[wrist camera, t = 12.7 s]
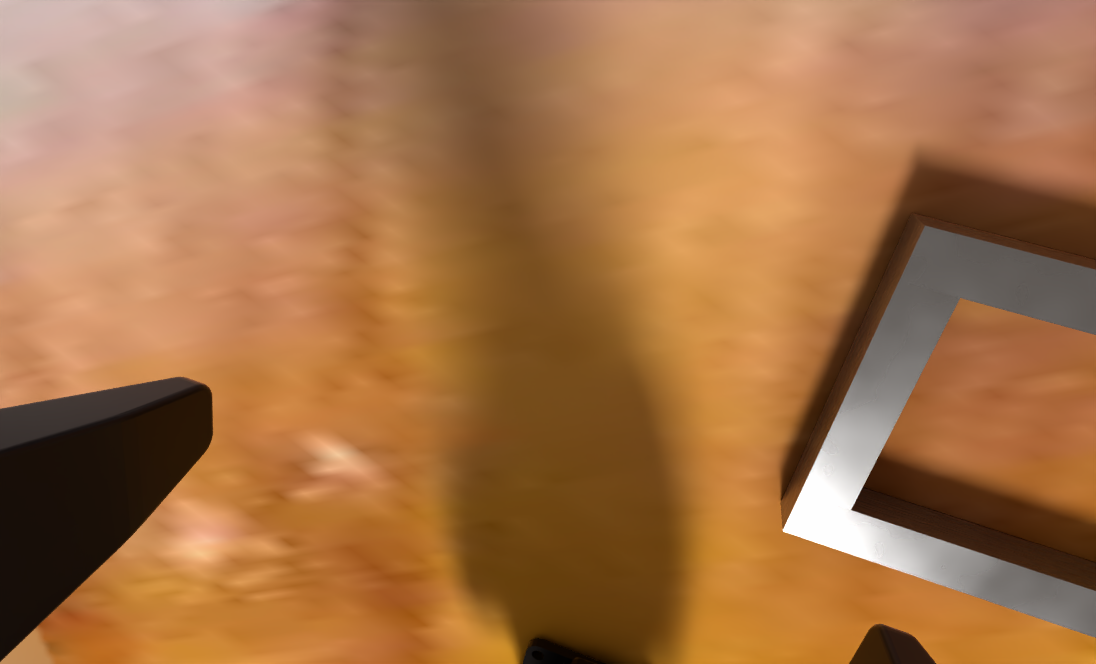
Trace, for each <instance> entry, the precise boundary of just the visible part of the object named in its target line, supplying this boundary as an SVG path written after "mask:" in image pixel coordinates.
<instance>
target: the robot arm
mask: <svg viewBox="0 0 1096 664" xmlns="http://www.w3.org/2000/svg"><path fill="white" fill-rule="evenodd" d="M212 436H213V410H212V392H211V390H210V388H209V387H208V386H207V385H205V384H203V383H200V382H197V381H194V380H191V379H189V378H185V377H175V378H169V379H164V380H158V381H152V382H147V383H141V384H136V385H130V386H125V387H119V388H113V389H108V390H102V391H97V392H91V393H86V394H80V395H75V396H69V397H63V398H58V399H52V400H47V401H41V402H36V403H30V404H24V405H19V406H13V407H8V408H2V409H0V662H1V661H2V660H3V659H4V658H5V656H7V655H8V654H9V653H10V652H11V651H12V650H13V649H14V648H15V647H16V646H17V645H18V644H19V643H20V642H22V641H23V640H24V639H25V637H27V636H28V635H29V634H30V633H31V632H32V631H33V630H34V629H35V628H36V627H37V626H38V625H39V624H40V623H41V622H43V621H44V620H45V619H46V618H47V617H48V616H49V615H50V614H51V613H52V612H53V611H54V610H55V609H56V608H57V607H58V606H59V605H60V604H61V603H62V602H64V601H65V600H66V599H67V598H68V597H69V596H70V595H71V594H72V593H73V592H74V591H75V590H76V589H77V588H78V587H79V586H80V585H81V584H82V583H83V582H84V581H86V580H87V579H88V578H89V577H90V576H91V575H92V574H93V573H94V572H95V571H96V570H97V569H98V568H99V567H100V566H101V565H102V564H103V563H104V562H105V561H107V560H108V559H109V558H110V557H111V556H112V555H113V554H114V553H115V552H116V551H117V550H118V549H119V548H120V547H121V546H122V545H123V544H124V543H125V542H126V541H127V540H128V539H129V538H130V537H131V536H132V535H133V534H134V533H135V532H136V531H137V529H138V528H139V527H140V526H141V525H142V524H143V523H144V522H145V521H146V520H147V518H148V517H149V516H150V515H151V514H152V513H153V512H154V510H155V509H156V508H157V507H158V506H159V505H160V504H161V502H162V501H163V500H164V499H165V498H166V497H167V495H168V494H169V493H170V492H171V491H172V490H173V489H174V487H175V486H176V485H177V484H178V483H179V482H180V481H181V479H182V478H183V477H184V476H185V475H186V474H187V472H188V471H189V470H190V469H191V468H192V467H193V466H194V464H195V463H196V462H197V461H198V460H199V459H200V458H201V456H202V455H203V454H204V453H205V452H206V450H207V449H208V447H209V445H210V443H211V440H212ZM539 651H540V652H539ZM523 664H605V663H603V662H600V661H598V660H595V659H592V658H590V657H587V656H585V655H582V654H580V653H577V652H574V651H572V650H569V649H567V648H564V647H562V646H559V645H556V644H554V643H551V642H549V641H546V640H544V639H540V638H535V639H532V640H531V641H530V643H529V645H528V648H527V650H526V654H525V657H524V661H523ZM849 664H936V663H935V661H934V660H933V659H932V658H931V657H930V655H929V654H928V653H927V652H926V650H925V649H924V648H923V647H922V645H921V644H920V643H919V642H918V640H917V639H916V638H915V637H913V636H912V635H910V634H908V633H906V632H903V631H900V630H897V629H894V628H892V627H889V626H886V625H883V624H876V625H874V626H873V627H871V628H870V630H869V631H868V632H867V634H866V636H865V638H864V639H863V641H862V643H861V644H860V646H859V648H858V650H857V651H856V653H855V655H854V656H853V658H852V660H851V661H850V663H849Z"/></svg>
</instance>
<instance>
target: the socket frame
mask: <svg viewBox="0 0 1096 664" xmlns="http://www.w3.org/2000/svg"><path fill="white" fill-rule="evenodd" d="M960 298H963V299H966V300H970V301H974V302H977V303H981V304H985V305H988V306H992V307H996V308H999V309H1003V310H1006V311H1010V312H1014V313H1017V314H1021V315H1025V316H1028V317H1032V318H1036V319H1039V320H1043V321H1047V322H1050V323H1054V324H1058V325H1061V326H1065V327H1069V328H1072V329H1076V330H1080V331H1083V332H1087V333H1091V334H1094V335H1096V260H1095V259H1091V258H1087V257H1083V256H1079V255H1075V254H1071V253H1067V252H1063V251H1060V250H1056V249H1052V248H1048V247H1044V246H1040V245H1036V244H1032V243H1028V242H1024V241H1021V240H1017V239H1013V238H1009V237H1005V236H1001V235H997V234H993V233H989V232H985V231H981V230H978V229H974V228H970V227H966V226H962V225H958V224H954V223H950V222H946V221H942V220H939V219H935V218H931V217H927V216H923V215H919V214H915V213H911V216H910V218H909V220H908V222H907V224H906V227H905V229H904V231H903V233H902V235H901V238H900V240H899V242H898V244H897V247H896V249H895V251H894V253H893V255H892V258H891V260H890V262H889V264H888V266H887V269H886V271H885V273H884V275H883V277H882V280H881V282H880V284H879V286H878V288H877V291H876V293H875V295H874V297H873V300H872V302H871V304H870V306H869V308H868V311H867V313H866V315H865V317H864V319H863V322H862V324H861V326H860V328H859V330H858V333H857V335H856V337H855V339H854V341H853V344H852V346H851V348H850V350H849V353H848V355H847V357H846V359H845V361H844V364H843V366H842V368H841V370H840V372H839V375H838V377H837V379H836V381H835V383H834V386H833V388H832V390H831V392H830V394H829V397H828V399H827V401H826V403H825V406H824V408H823V410H822V412H821V414H820V417H819V419H818V421H817V423H816V425H815V428H814V430H813V432H812V434H811V436H810V439H809V441H808V443H807V445H806V447H805V450H804V452H803V454H802V456H801V459H800V461H799V463H798V465H797V467H796V470H795V472H794V474H793V476H792V478H791V481H790V483H789V485H788V487H787V489H786V492H785V494H784V496H783V498H782V500H781V513H782V527H783V531H784V532H787V533H790V534H793V535H796V536H799V537H802V538H805V539H808V540H810V541H813V542H816V543H819V544H822V545H825V546H828V547H831V548H834V549H837V550H840V551H843V552H846V553H849V554H852V555H855V556H857V557H860V558H863V559H866V560H869V561H872V562H875V563H878V564H881V565H884V566H887V567H890V568H893V569H896V570H899V571H901V572H904V573H907V574H910V575H913V576H916V577H919V578H922V579H925V580H928V581H931V582H934V583H937V584H940V585H943V586H945V587H948V588H951V589H954V590H957V591H960V592H963V593H966V594H969V595H972V596H975V597H978V598H981V599H984V600H987V601H989V602H992V603H995V604H998V605H1001V606H1004V607H1007V608H1010V609H1013V610H1016V611H1019V612H1022V613H1025V614H1028V615H1031V616H1034V617H1036V618H1039V619H1042V620H1045V621H1048V622H1051V623H1054V624H1057V625H1060V626H1063V627H1066V628H1069V629H1072V630H1075V631H1078V632H1080V633H1083V634H1086V635H1089V636H1092V637H1095V638H1096V563H1094V562H1091V561H1088V560H1085V559H1082V558H1079V557H1076V556H1073V555H1070V554H1067V553H1064V552H1061V551H1057V550H1054V549H1051V548H1048V547H1045V546H1042V545H1039V544H1036V543H1033V542H1030V541H1027V540H1024V539H1020V538H1017V537H1014V536H1011V535H1008V534H1005V533H1002V532H999V531H996V530H993V529H990V528H986V527H983V526H980V525H977V524H974V523H971V522H968V521H965V520H962V519H959V518H956V517H953V516H949V515H946V514H943V513H940V512H937V511H934V510H931V509H928V508H925V507H922V506H919V505H915V504H912V503H909V502H906V501H903V500H900V499H897V498H894V497H891V496H888V495H885V494H882V493H878V492H875V491H872V490H869V489H866V488H863V486H864V484H865V482H866V480H867V478H868V476H869V474H870V472H871V470H872V468H873V466H874V464H875V462H876V460H877V458H878V456H879V454H880V453H881V451H882V449H883V447H884V445H885V443H886V441H887V439H888V437H889V435H890V433H891V431H892V429H893V427H894V425H895V423H896V421H897V420H898V418H899V416H900V414H901V412H902V410H903V408H904V406H905V404H906V402H907V400H908V398H909V396H910V394H911V392H912V390H913V388H914V386H915V385H916V383H917V381H918V379H919V377H920V375H921V373H922V371H923V369H924V367H925V365H926V363H927V361H928V359H929V357H930V355H931V353H932V351H933V350H934V348H935V346H936V344H937V342H938V340H939V338H940V336H941V334H942V332H943V330H944V328H945V326H946V324H947V322H948V320H949V318H950V316H951V315H952V313H953V311H954V309H955V307H956V305H957V303H958V301H959V299H960Z"/></svg>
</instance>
